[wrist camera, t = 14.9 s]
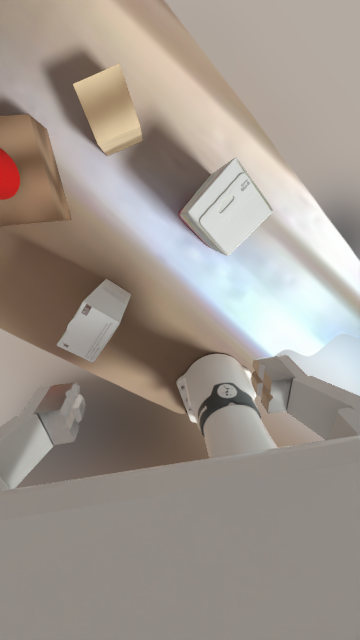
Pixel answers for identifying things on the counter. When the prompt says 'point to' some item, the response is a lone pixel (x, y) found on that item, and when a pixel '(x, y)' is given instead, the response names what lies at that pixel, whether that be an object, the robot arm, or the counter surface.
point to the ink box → (226, 208)
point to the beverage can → (8, 176)
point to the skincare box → (95, 321)
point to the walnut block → (31, 173)
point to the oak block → (109, 110)
